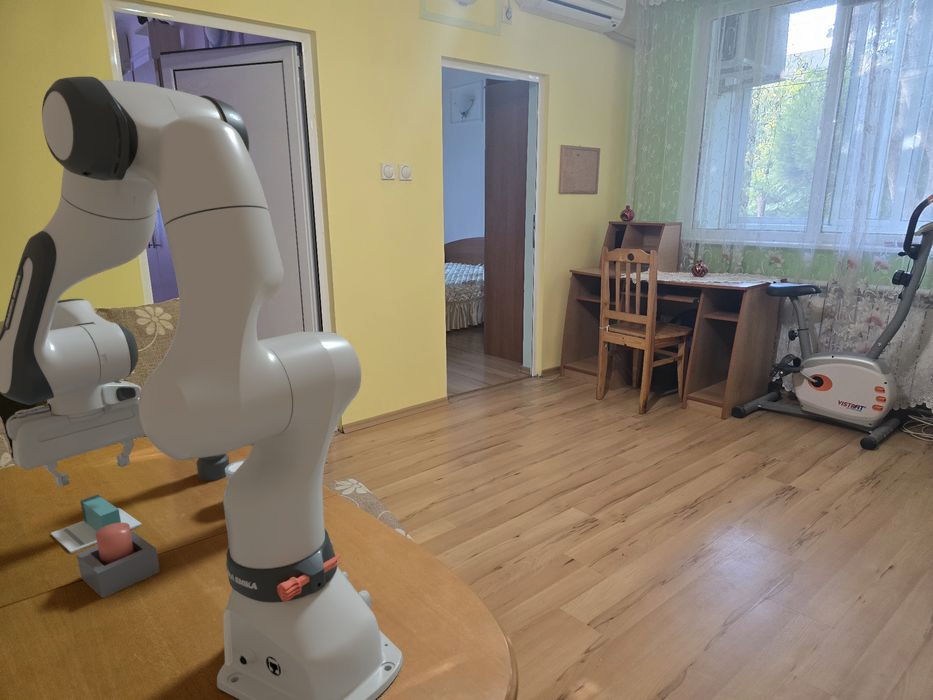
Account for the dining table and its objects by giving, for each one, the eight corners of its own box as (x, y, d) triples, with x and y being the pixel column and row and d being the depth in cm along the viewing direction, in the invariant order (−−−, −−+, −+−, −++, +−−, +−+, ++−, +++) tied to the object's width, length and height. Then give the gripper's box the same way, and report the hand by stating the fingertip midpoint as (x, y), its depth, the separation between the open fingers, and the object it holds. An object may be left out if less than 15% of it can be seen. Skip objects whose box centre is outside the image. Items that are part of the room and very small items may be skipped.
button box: (159, 571, 91) (155, 548, 90) (102, 598, 85) (97, 573, 84) (136, 553, 96) (133, 531, 95) (81, 577, 90) (76, 554, 89)
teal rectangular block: (122, 530, 102) (118, 509, 101) (104, 537, 100) (100, 516, 99) (101, 514, 108) (97, 494, 107) (84, 521, 106) (80, 500, 105)
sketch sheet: (141, 525, 105) (141, 523, 105) (71, 553, 96) (70, 551, 96) (119, 509, 110) (119, 507, 110) (50, 534, 102) (50, 532, 102)
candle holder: (216, 482, 120) (200, 363, 115) (191, 478, 122) (175, 360, 116) (236, 470, 126) (223, 355, 120) (213, 466, 128) (198, 353, 122)
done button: (139, 558, 90) (134, 528, 89) (108, 572, 87) (102, 541, 86) (127, 548, 93) (122, 519, 92) (96, 561, 89) (90, 531, 88)
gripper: (9, 418, 89) (28, 503, 92) (150, 384, 104) (163, 459, 107) (-3, 410, 93) (15, 493, 96) (135, 379, 108) (147, 451, 111)
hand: (94, 474), depth 101 cm, fingers open, 8 cm apart
